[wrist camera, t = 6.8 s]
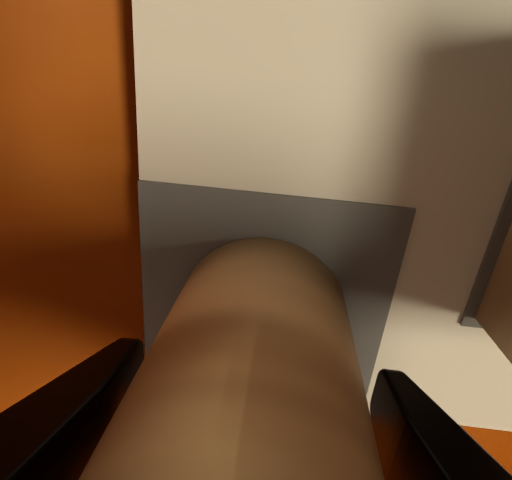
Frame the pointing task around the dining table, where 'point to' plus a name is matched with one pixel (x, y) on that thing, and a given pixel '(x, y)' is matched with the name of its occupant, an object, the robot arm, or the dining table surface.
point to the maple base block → (499, 301)
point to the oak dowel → (247, 379)
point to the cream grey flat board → (339, 166)
